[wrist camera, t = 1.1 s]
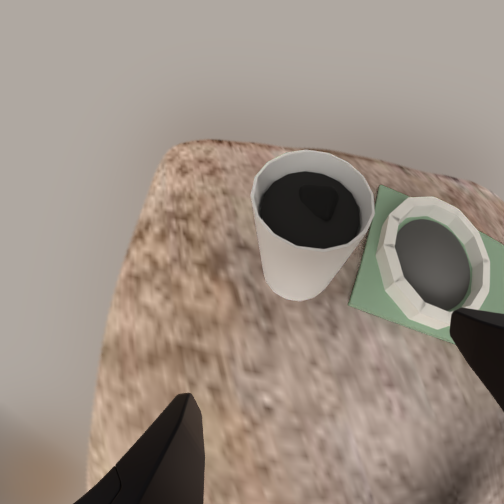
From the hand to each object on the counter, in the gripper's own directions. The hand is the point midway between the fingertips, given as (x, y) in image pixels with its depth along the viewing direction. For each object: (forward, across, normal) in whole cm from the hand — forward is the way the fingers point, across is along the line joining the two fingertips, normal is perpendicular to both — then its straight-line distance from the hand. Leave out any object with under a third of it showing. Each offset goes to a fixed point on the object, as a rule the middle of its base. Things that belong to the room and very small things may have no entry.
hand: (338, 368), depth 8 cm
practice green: (+13, -17, +7) cm, 22 cm away
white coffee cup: (+16, -2, +2) cm, 16 cm away
